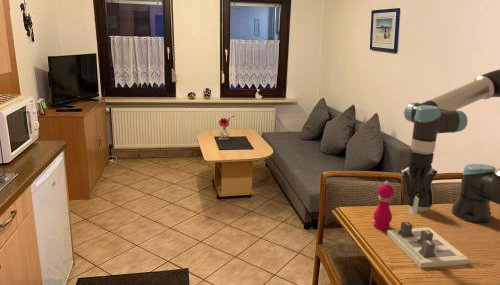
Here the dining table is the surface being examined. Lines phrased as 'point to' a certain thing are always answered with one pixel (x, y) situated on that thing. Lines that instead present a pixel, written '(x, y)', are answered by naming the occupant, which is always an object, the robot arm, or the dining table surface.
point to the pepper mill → (383, 207)
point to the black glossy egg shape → (426, 201)
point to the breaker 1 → (405, 229)
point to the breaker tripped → (425, 236)
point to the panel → (442, 249)
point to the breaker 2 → (427, 249)
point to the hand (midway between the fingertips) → (412, 213)
